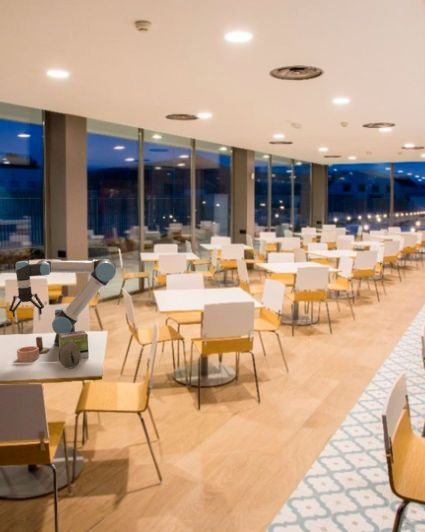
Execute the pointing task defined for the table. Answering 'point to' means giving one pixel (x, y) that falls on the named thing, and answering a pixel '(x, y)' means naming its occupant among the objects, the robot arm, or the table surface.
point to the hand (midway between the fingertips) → (28, 321)
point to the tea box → (76, 341)
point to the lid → (41, 346)
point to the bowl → (28, 353)
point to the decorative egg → (69, 354)
